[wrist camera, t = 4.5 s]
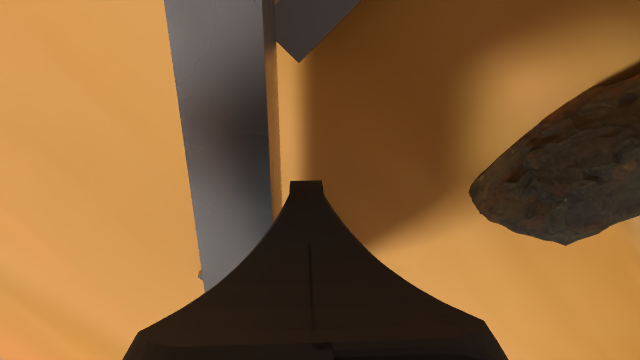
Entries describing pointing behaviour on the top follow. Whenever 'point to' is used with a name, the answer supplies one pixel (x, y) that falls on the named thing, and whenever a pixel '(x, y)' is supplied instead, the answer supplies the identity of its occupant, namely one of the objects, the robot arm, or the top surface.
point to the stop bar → (307, 22)
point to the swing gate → (228, 123)
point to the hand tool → (570, 169)
